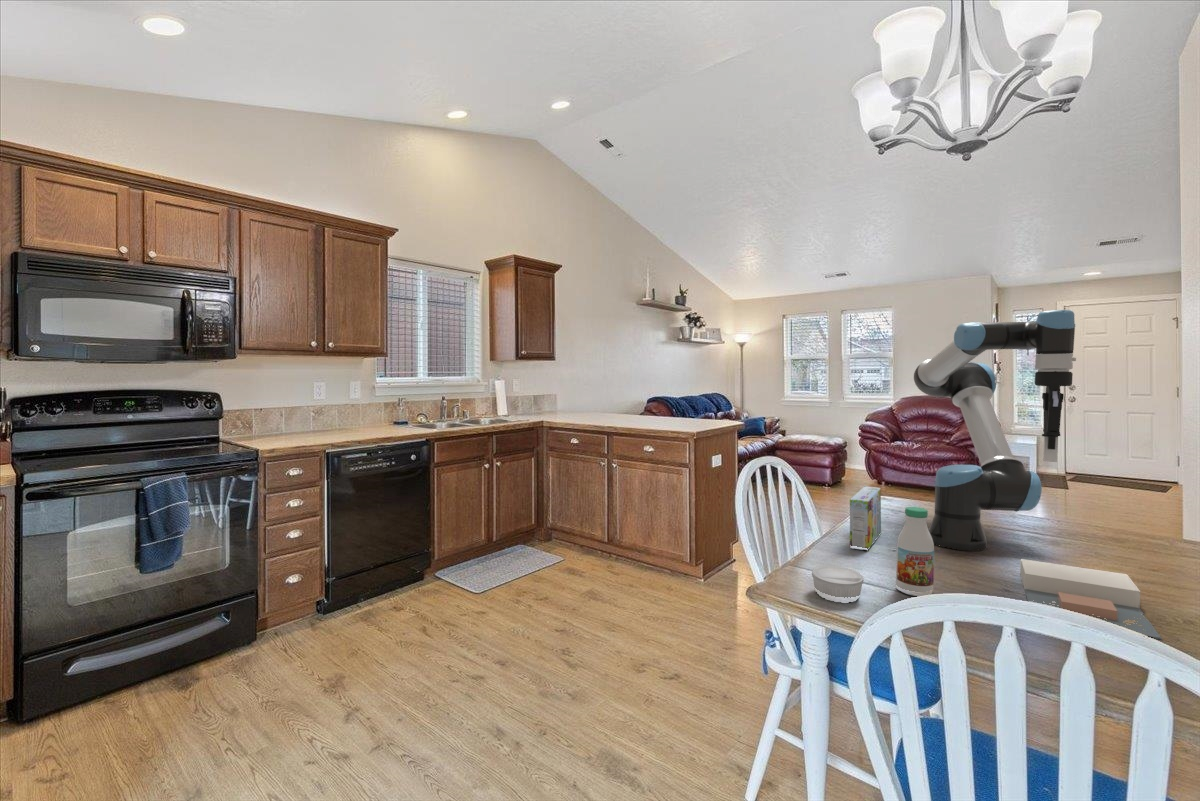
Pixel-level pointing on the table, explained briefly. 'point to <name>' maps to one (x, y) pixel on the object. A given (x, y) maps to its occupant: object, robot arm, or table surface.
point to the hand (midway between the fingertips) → (1050, 461)
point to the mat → (1122, 615)
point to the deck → (1079, 582)
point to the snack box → (865, 517)
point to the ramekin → (837, 581)
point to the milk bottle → (915, 553)
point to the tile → (1087, 605)
